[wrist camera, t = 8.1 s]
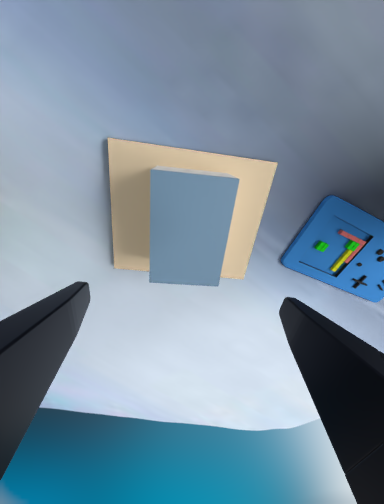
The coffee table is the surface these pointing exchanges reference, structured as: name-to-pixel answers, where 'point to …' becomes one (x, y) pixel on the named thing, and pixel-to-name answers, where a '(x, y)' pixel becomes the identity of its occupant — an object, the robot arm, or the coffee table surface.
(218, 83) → the coffee table surface
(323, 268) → the handheld gaming device
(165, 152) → the cork mat
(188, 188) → the card box
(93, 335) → the coffee table surface
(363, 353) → the robot arm
